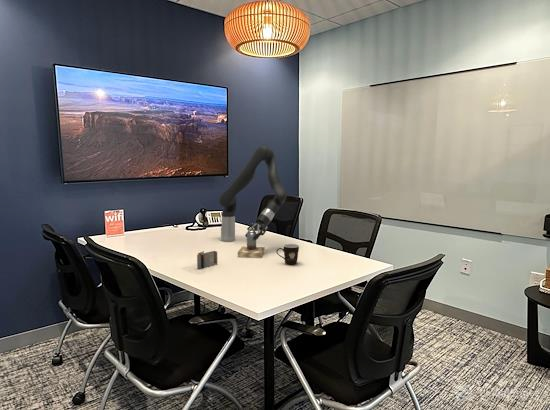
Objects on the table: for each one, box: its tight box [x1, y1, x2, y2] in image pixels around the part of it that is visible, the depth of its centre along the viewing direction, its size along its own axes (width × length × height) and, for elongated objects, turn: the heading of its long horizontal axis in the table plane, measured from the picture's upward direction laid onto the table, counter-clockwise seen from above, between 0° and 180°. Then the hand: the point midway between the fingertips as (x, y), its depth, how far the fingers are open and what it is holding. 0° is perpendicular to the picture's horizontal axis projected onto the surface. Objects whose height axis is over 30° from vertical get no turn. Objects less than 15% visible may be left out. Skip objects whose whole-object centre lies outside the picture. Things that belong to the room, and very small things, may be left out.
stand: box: [237, 246, 265, 259], centre depth 221 cm, size 14×14×3 cm
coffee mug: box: [276, 243, 300, 266], centre depth 203 cm, size 12×9×10 cm
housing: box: [246, 230, 257, 250], centre depth 220 cm, size 6×6×11 cm
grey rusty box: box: [196, 250, 218, 270], centre depth 195 cm, size 11×3×10 cm, turn 138°
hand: (250, 238), depth 219 cm, fingers open, 8 cm apart
